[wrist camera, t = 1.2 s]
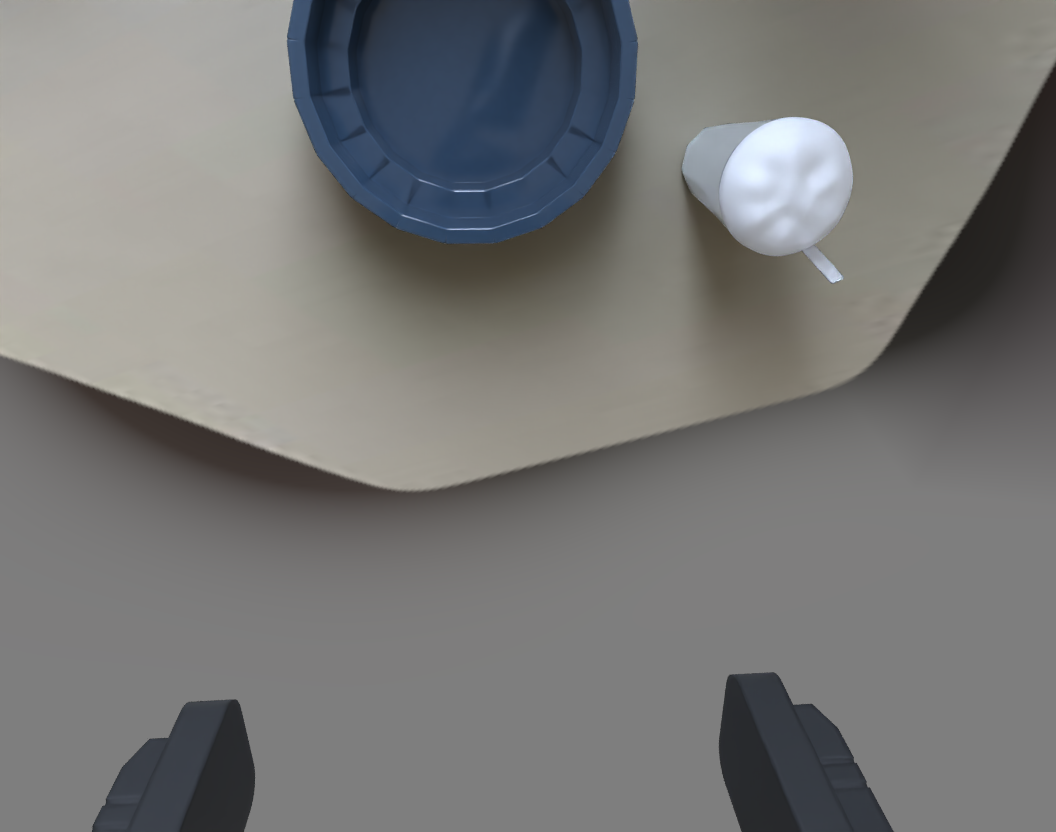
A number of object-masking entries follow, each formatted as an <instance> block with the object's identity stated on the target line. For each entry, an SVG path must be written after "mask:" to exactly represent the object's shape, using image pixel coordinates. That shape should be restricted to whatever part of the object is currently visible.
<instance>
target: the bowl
mask: <svg viewBox="0 0 1056 832" xmlns="http://www.w3.org/2000/svg"><path fill="white" fill-rule="evenodd" d="M287 38H288V39H287V47H288V56H289V65H290V74H291V83H292V92H293V98H294V99H295V100H294V102H295V105H296V107H297V109H298V112H299V114H300V117H301V119H302V121H303V124H304V126H305V128H306V131H307V133H308V136H309V138H310V140H311V143H312V145H313V148H314V150H315V152H316V153H317V156H318V157H319V158H320V160H321V161H322V162H323V163H324V165H325V166H326V167H327V168H328V170H329V171H330V172H331V173H332V175H333V176H334V177H335V178H336V180H337V181H338V182H339V183H340V185H341V186H342V187H343V188H344V189H345V191H346V192H347V193H348V194H349V196H350V197H351V198H353V199H354V200H355V201H356V202H358V203H359V204H361V205H362V206H364V207H365V208H367V209H368V210H370V211H371V212H372V213H374V214H375V215H377V216H378V217H380V218H381V219H383V220H384V221H386V222H387V223H388V224H390V225H391V226H393V227H394V228H396V227H397V229H398V230H402V231H405V232H408V233H411V234H415V235H418V236H421V237H424V238H427V239H431V240H434V241H437V242H440V243H446V244H494V243H499V242H502V241H505V240H508V239H511V238H514V237H517V236H520V235H523V234H526V233H529V232H531V231H534V230H537V229H540V228H542V227H544V226H546V225H547V224H548V223H550V222H551V221H552V220H554V219H555V218H557V217H558V216H559V215H561V214H562V213H563V212H565V211H566V210H567V209H569V208H570V207H571V206H573V205H574V204H575V203H577V202H578V201H579V200H581V199H582V198H583V197H584V196H585V195H586V194H587V192H588V191H589V190H590V188H591V187H592V186H593V184H594V183H595V181H596V180H597V179H598V177H599V176H600V175H601V173H602V172H603V171H604V169H605V168H606V166H607V165H608V164H609V162H610V161H611V160H612V158H613V157H614V155H615V153H616V152H617V149H618V146H619V143H620V141H621V138H622V135H623V132H624V129H625V126H626V124H627V121H628V118H629V115H630V112H631V110H632V107H633V104H634V99H635V88H636V70H637V52H638V42H637V39H638V38H637V34H636V30H635V25H634V21H633V17H632V12H631V8H630V4H629V0H294V1H293V6H292V12H291V17H290V22H289V28H288V33H287Z"/></svg>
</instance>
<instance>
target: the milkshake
mask: <svg viewBox="0 0 1056 832" xmlns="http://www.w3.org/2000/svg"><path fill="white" fill-rule="evenodd" d="M682 172H683V175H684V177H685V180H686V182H687V185H688V187H689V190H690V192H691V193H692V194H693V195H694V196H695V197H696V198H697V199H698V200H699V201H700V202H701V203H703V204H704V205H705V206H706V207H707V208H708V209H709V210H710V211H711V212H712V213H713V214H714V215H715V216H716V217H717V218H718V219H719V220H720V221H721V222H722V223H723V225H724V226H725V227H726V228H727V229H728V230H729V232H730V233H731V234H732V236H733V237H734V238H735V239H736V240H737V241H738V242H739V243H741V244H742V245H744V246H745V247H747V248H749V249H751V250H753V251H755V252H758V253H761V254H764V255H768V256H785V255H790V254H793V253H797V252H799V251H802V252H803V253H804V254H805V255H806V256H807V257H808V258H809V259H810V261H811V262H812V263H813V264H814V265H815V266H816V267H817V268H818V270H819V271H820V272H821V273H822V274H823V275H824V276H825V277H826V279H827V280H828V281H829V282H830V283H831V284H834V283H836V282H838V281H840V280H842V279H844V276H843V275H842V274H841V273H840V272H839V271H838V270H837V268H836V267H835V266H834V265H833V264H832V263H831V262H830V261H829V260H828V259H827V258H826V256H825V255H824V254H823V253H822V252H821V251H820V250H819V249H818V248H817V247H816V245H815V243H817V242H818V241H820V240H821V239H823V238H824V237H825V236H826V235H827V234H829V233H830V232H831V231H832V230H833V228H834V227H835V226H836V225H837V224H838V222H839V221H840V219H841V217H842V215H843V214H844V211H845V209H846V207H847V204H848V202H849V198H850V195H851V191H852V186H853V171H852V165H851V161H850V157H849V153H848V150H847V147H846V145H845V143H844V141H843V140H842V138H841V137H840V136H839V135H838V133H837V132H836V131H835V130H833V129H832V128H831V127H830V126H828V125H826V124H824V123H822V122H819V121H816V120H812V119H808V118H801V117H786V118H780V119H772V120H765V121H759V122H744V123H728V124H722V125H717V126H711V127H705V128H704V129H703V130H702V131H701V132H700V133H699V134H698V135H697V136H696V137H695V138H694V139H693V140H692V141H691V142H690V143H689V144H688V145H687V148H686V152H685V157H684V161H683V165H682Z"/></svg>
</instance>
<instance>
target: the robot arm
mask: <svg viewBox="0 0 1056 832" xmlns="http://www.w3.org/2000/svg"><path fill="white" fill-rule="evenodd" d="M719 754H720V764H721V768H722V774H723V778H724V781H725V784H726V787H727V790H728V793H729V796H730V799H731V802H732V805H733V808H734V811H735V813H736V817H737V819H738V822H739V825H740V828H741V831H742V832H893V830H892V828H891V826H890V824H889V822H888V820H887V819H886V817H885V815H884V813H883V811H882V809H881V807H880V806H879V804H878V802H877V800H876V798H875V796H874V794H873V793H872V791H871V789H870V788H868V787H867V784H866V780H865V778H864V776H863V774H862V772H861V770H860V768H859V766H858V765H857V763H854V757H853V755H852V754H851V752H850V750H849V748H848V746H847V744H846V743H845V740H844V739H843V737H842V735H841V733H840V731H839V729H838V728H837V727H836V726H835V725H834V724H833V723H832V722H831V721H830V720H829V719H828V718H826V717H825V716H824V715H823V714H822V713H821V712H820V711H819V710H818V709H817V708H816V707H815V706H814V705H813V704H801V705H793V704H792V702H791V700H790V698H789V696H788V693H787V692H786V689H785V687H784V685H783V683H782V682H781V679H780V678H779V676H778V675H777V674H776V673H774V672H771V673H752V674H735V675H734V674H733V675H729V677H728V679H727V683H726V690H725V698H724V706H723V714H722V721H721V729H720V737H719ZM254 787H255V769H254V763H253V758H252V754H251V750H250V745H249V741H248V737H247V733H246V728H245V724H244V719H243V715H242V711H241V707H240V704H239V703H238V701H237V700H216V701H200V702H199V701H197V702H188V703H186V704H185V705H184V707H183V708H182V710H181V712H180V714H179V716H178V718H177V720H176V722H175V725H174V727H173V729H172V731H171V734H170V736H169V738H157V739H149V740H148V741H147V742H146V743H145V744H144V745H143V746H142V747H141V748H140V749H139V750H138V751H137V753H135V755H134V756H133V757H132V758H131V759H130V760H129V761H128V762H127V763H126V764H125V765H124V766H123V767H122V769H121V770H120V772H119V775H118V776H117V778H116V780H115V782H114V784H113V786H112V788H111V790H110V792H109V794H108V796H107V798H106V804H105V806H102V808H101V810H100V812H99V814H98V816H97V818H96V820H95V822H94V824H93V830H92V832H244V829H245V826H246V823H247V819H248V816H249V813H250V810H251V806H252V801H253V795H254Z"/></svg>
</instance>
